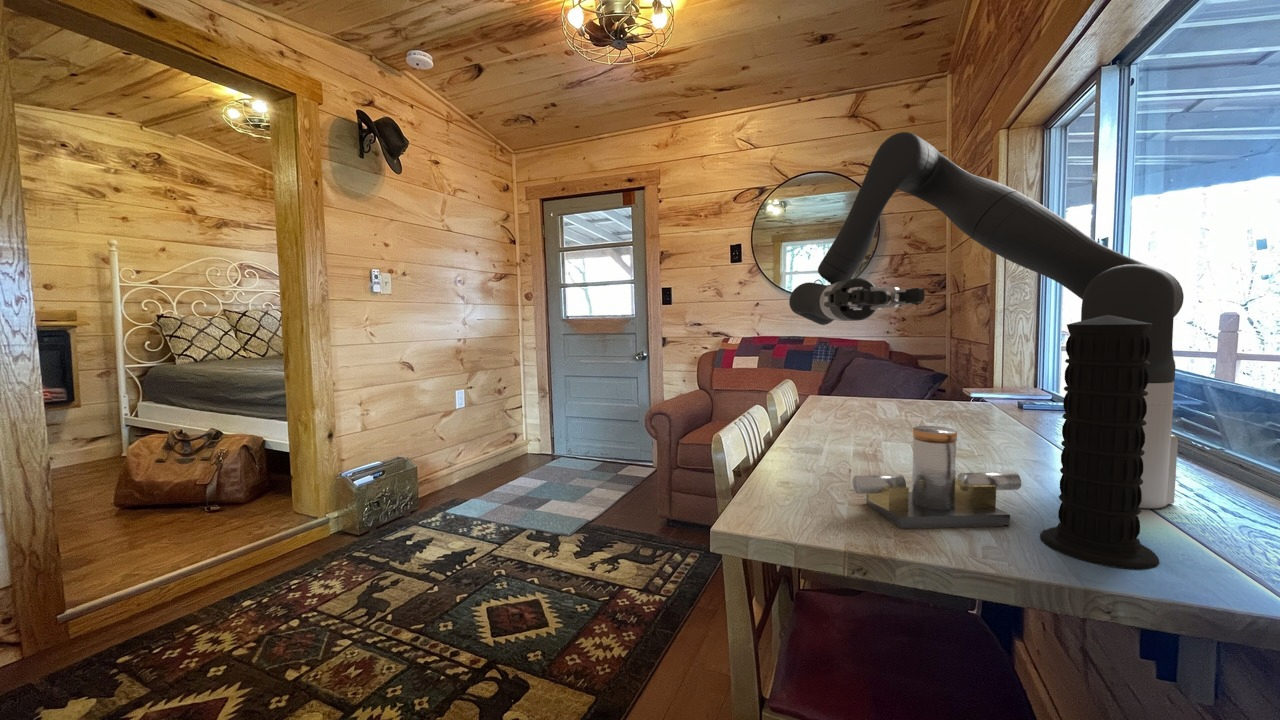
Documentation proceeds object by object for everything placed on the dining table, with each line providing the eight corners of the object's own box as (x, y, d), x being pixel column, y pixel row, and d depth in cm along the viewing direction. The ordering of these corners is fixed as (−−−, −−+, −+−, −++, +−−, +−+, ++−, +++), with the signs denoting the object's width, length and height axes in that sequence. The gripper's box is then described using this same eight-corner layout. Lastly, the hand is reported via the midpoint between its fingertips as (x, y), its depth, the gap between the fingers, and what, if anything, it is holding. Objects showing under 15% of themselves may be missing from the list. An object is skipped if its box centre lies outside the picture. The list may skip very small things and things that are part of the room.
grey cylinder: (939, 495, 70) (941, 425, 69) (964, 509, 65) (966, 433, 64) (903, 496, 70) (905, 426, 69) (925, 510, 65) (927, 434, 64)
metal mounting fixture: (989, 500, 72) (990, 462, 72) (1040, 525, 63) (1042, 482, 63) (842, 503, 72) (842, 466, 71) (873, 529, 63) (873, 486, 62)
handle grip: (1188, 570, 51) (1107, 530, 61) (1205, 313, 49) (1118, 314, 59) (1083, 567, 52) (1020, 528, 62) (1095, 314, 50) (1028, 316, 60)
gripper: (809, 280, 92) (848, 271, 76) (885, 279, 92) (940, 270, 76) (809, 321, 93) (847, 320, 76) (885, 320, 93) (939, 319, 77)
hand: (894, 295), depth 76 cm, fingers open, 8 cm apart
